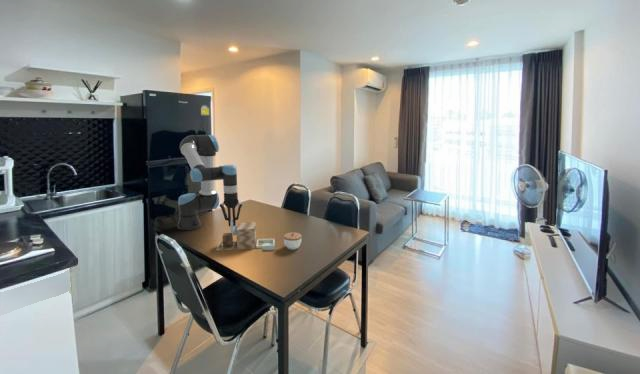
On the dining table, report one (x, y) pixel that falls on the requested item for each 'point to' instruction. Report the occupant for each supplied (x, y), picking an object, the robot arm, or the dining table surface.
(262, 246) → the tray
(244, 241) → the brown patterned stepped stand
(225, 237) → the treat block
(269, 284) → the dining table surface
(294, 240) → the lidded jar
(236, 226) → the slide cover
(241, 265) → the dining table surface
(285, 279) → the dining table surface
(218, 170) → the robot arm
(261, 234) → the dining table surface
